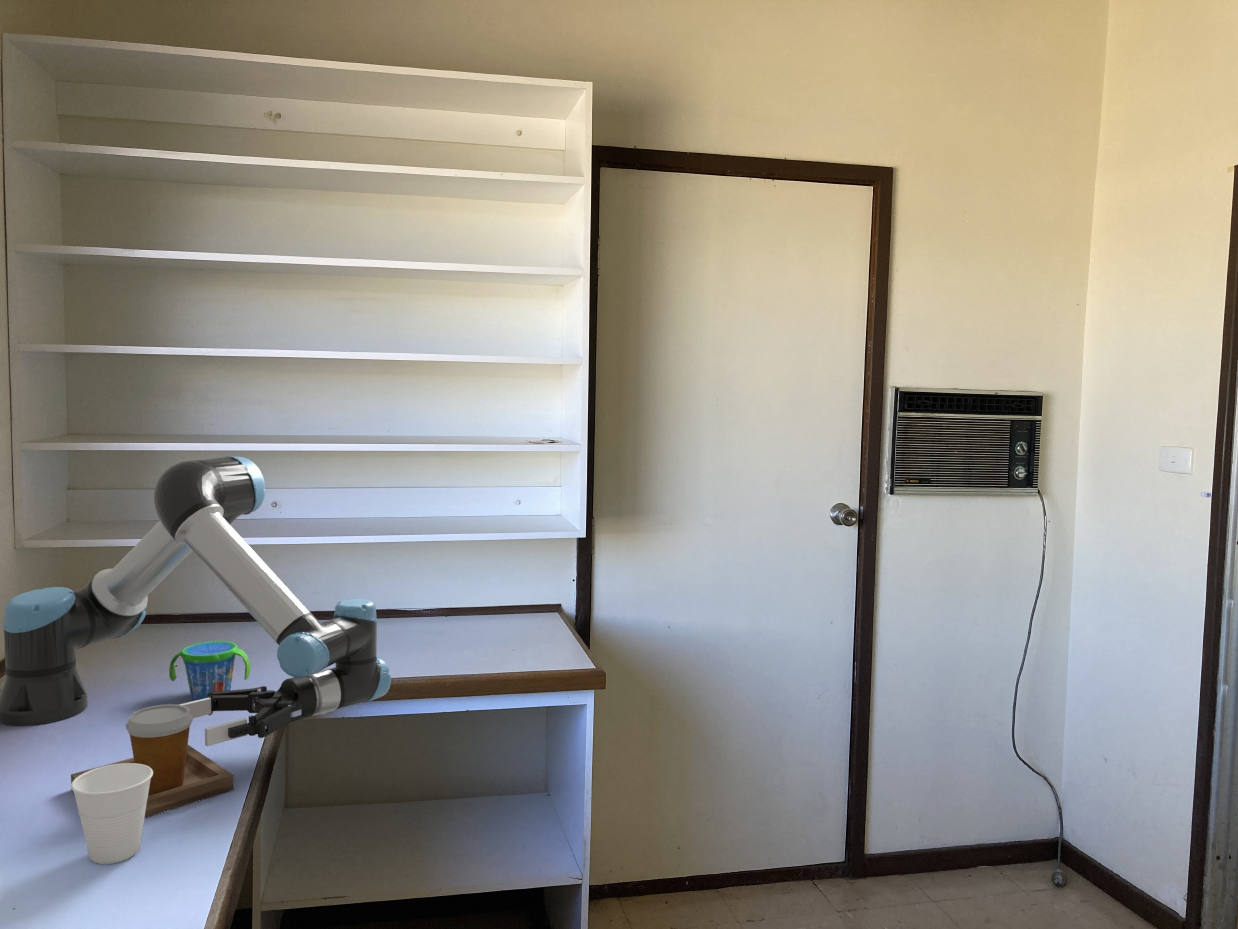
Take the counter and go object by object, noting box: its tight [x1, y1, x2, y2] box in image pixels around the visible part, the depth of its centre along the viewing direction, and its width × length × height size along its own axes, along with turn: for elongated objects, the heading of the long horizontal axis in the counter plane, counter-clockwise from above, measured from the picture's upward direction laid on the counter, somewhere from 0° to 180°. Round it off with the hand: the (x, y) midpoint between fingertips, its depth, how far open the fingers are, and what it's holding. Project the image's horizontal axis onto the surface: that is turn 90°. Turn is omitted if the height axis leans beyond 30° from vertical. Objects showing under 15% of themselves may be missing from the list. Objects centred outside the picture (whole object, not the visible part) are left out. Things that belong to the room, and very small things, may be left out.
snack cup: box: [168, 640, 251, 701], centre depth 190 cm, size 16×10×10 cm
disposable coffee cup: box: [125, 703, 194, 796], centre depth 145 cm, size 10×10×12 cm
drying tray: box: [70, 744, 235, 819], centre depth 147 cm, size 18×18×2 cm
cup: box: [70, 763, 153, 865], centre depth 127 cm, size 10×10×11 cm
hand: (187, 726), depth 150 cm, fingers open, 13 cm apart
